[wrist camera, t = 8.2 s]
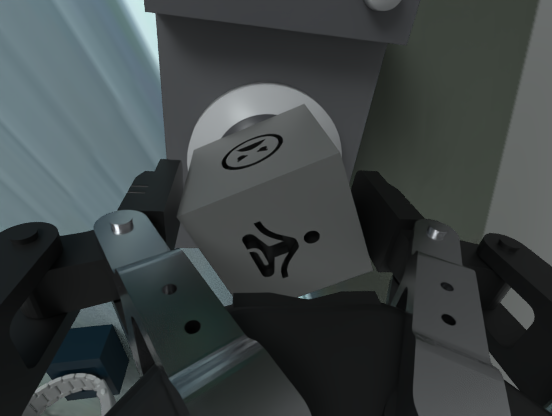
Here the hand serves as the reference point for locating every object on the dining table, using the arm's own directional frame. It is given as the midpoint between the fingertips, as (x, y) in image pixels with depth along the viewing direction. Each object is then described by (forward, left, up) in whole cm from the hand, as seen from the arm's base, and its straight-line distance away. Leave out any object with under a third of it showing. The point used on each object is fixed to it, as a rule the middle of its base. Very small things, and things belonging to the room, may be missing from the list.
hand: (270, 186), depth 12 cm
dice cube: (+1, 0, -2) cm, 2 cm away
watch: (+22, -13, -8) cm, 26 cm away
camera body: (-1, 0, -8) cm, 8 cm away
